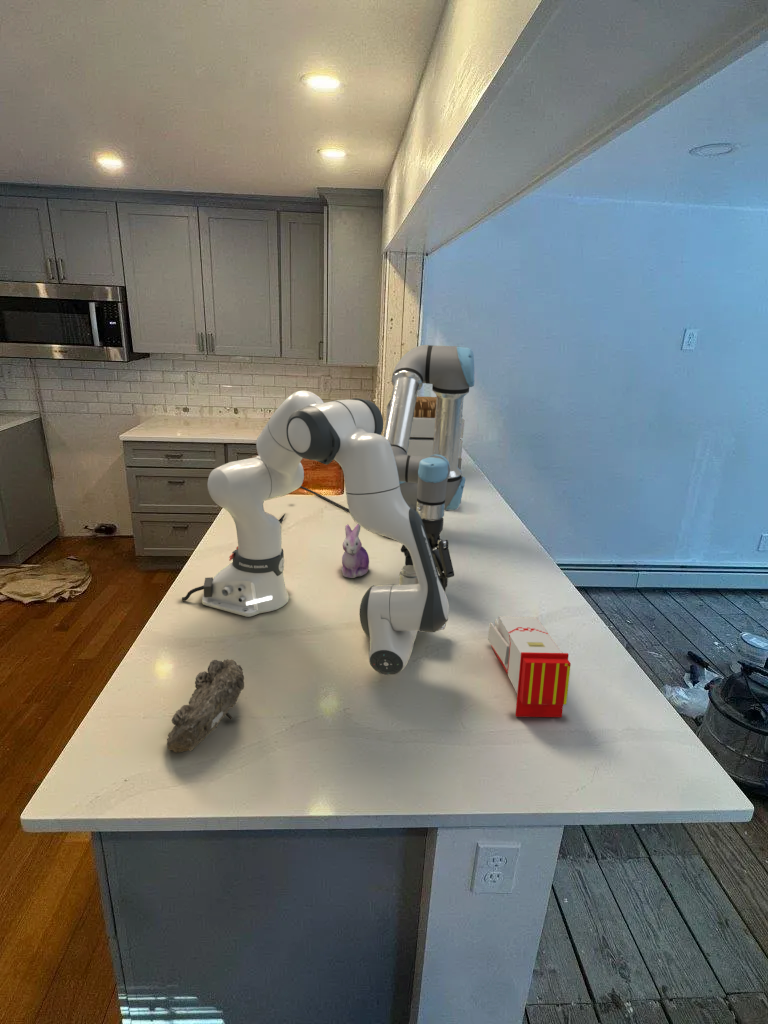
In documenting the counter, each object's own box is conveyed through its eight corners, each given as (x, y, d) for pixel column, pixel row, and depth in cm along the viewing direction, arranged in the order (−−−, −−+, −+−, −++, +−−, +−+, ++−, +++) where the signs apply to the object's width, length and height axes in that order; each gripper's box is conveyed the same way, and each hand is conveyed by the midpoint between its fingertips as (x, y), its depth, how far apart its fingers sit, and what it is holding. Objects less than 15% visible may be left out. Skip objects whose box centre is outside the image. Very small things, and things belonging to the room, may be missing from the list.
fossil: (192, 660, 117) (244, 628, 112) (224, 691, 120) (276, 661, 115) (142, 746, 98) (202, 712, 93) (182, 779, 101) (242, 748, 96)
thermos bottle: (394, 623, 143) (397, 571, 138) (400, 613, 148) (403, 562, 143) (414, 627, 142) (418, 574, 137) (419, 617, 146) (423, 565, 141)
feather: (292, 507, 224) (294, 503, 223) (275, 531, 197) (278, 527, 197) (288, 505, 224) (291, 501, 223) (271, 528, 197) (273, 524, 197)
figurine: (347, 581, 163) (348, 533, 158) (333, 567, 172) (334, 521, 166) (376, 576, 167) (378, 528, 162) (361, 562, 176) (363, 517, 171)
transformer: (382, 463, 289) (386, 382, 275) (445, 464, 293) (451, 384, 279) (390, 482, 257) (394, 392, 243) (460, 483, 261) (468, 394, 247)
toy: (534, 602, 136) (579, 659, 107) (529, 653, 139) (572, 723, 110) (484, 601, 136) (516, 658, 107) (480, 652, 139) (510, 722, 109)
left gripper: (445, 619, 128) (451, 591, 140) (357, 606, 131) (370, 580, 144) (443, 643, 130) (449, 613, 143) (356, 630, 133) (369, 602, 146)
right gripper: (390, 504, 159) (387, 572, 166) (450, 534, 140) (443, 609, 147) (411, 500, 163) (407, 567, 170) (472, 528, 144) (464, 602, 152)
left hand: (409, 596), depth 143 cm, fingers closed on thermos bottle, 5 cm apart
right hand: (424, 587), depth 159 cm, fingers open, 13 cm apart
